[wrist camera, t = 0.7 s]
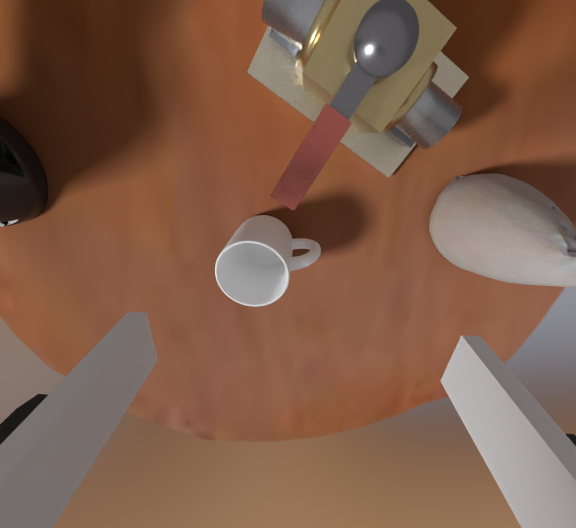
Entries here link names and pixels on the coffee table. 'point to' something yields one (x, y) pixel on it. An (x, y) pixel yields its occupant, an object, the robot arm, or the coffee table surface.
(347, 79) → the lever
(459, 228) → the sculpture
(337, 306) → the coffee table surface
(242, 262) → the mug
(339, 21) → the valve body
